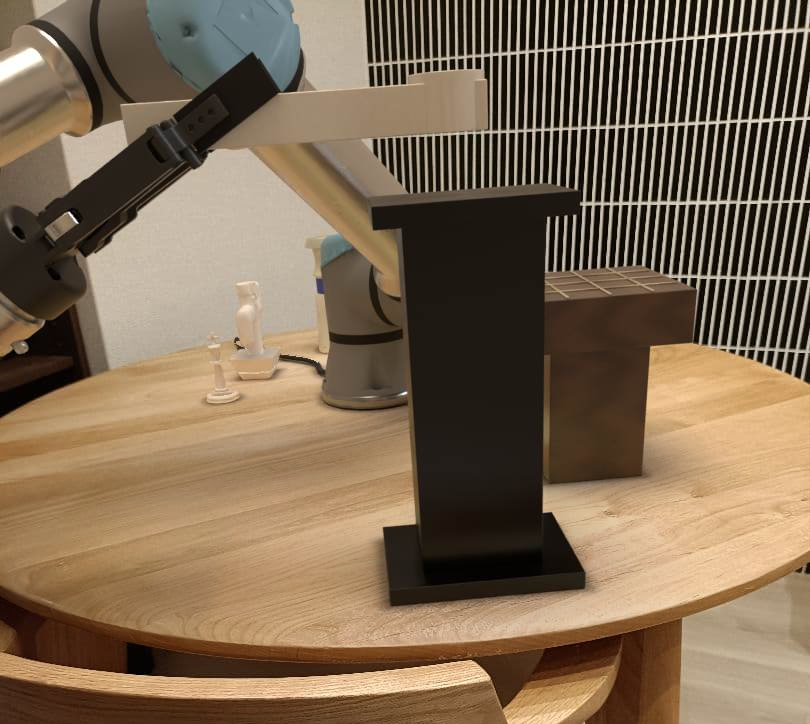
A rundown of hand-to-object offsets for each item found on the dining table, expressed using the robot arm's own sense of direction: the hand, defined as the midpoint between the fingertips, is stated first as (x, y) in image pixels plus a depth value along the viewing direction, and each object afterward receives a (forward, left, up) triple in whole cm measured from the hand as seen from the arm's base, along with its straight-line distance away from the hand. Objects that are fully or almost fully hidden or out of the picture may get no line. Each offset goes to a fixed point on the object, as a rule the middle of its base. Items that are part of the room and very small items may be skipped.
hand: (268, 75), depth 55 cm
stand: (+10, +9, -38) cm, 40 cm away
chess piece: (-52, +33, -38) cm, 73 cm away
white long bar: (+2, +2, -4) cm, 5 cm away
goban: (+7, +34, -38) cm, 52 cm away
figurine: (-57, +45, -38) cm, 82 cm away
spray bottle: (-57, +65, -38) cm, 95 cm away
